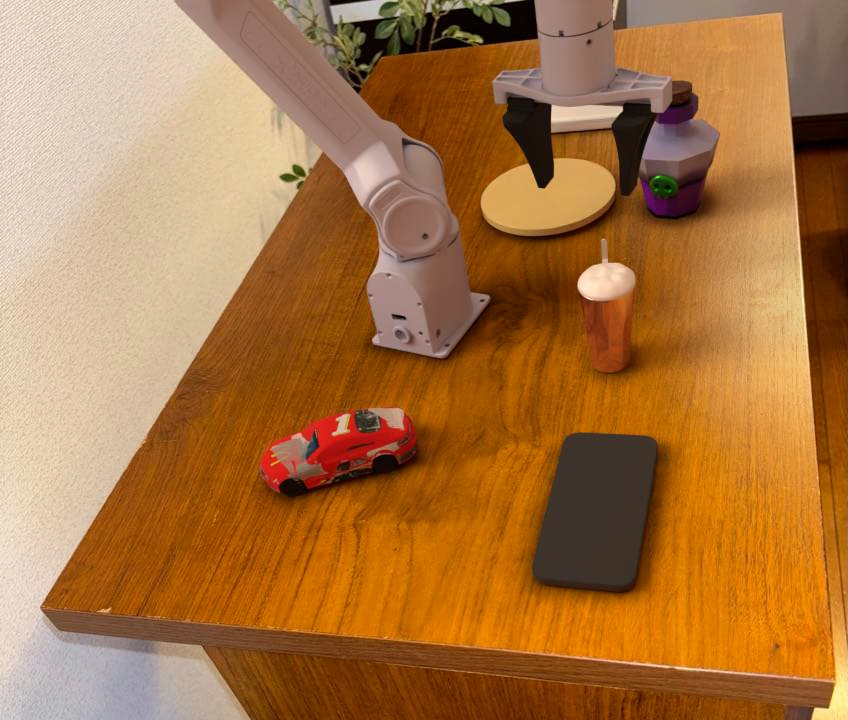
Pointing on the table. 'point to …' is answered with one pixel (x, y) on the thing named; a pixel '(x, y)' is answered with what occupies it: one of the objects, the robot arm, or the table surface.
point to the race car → (339, 449)
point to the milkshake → (608, 312)
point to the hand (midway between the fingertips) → (586, 186)
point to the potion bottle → (677, 157)
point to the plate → (548, 198)
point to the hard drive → (583, 117)
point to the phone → (596, 512)
